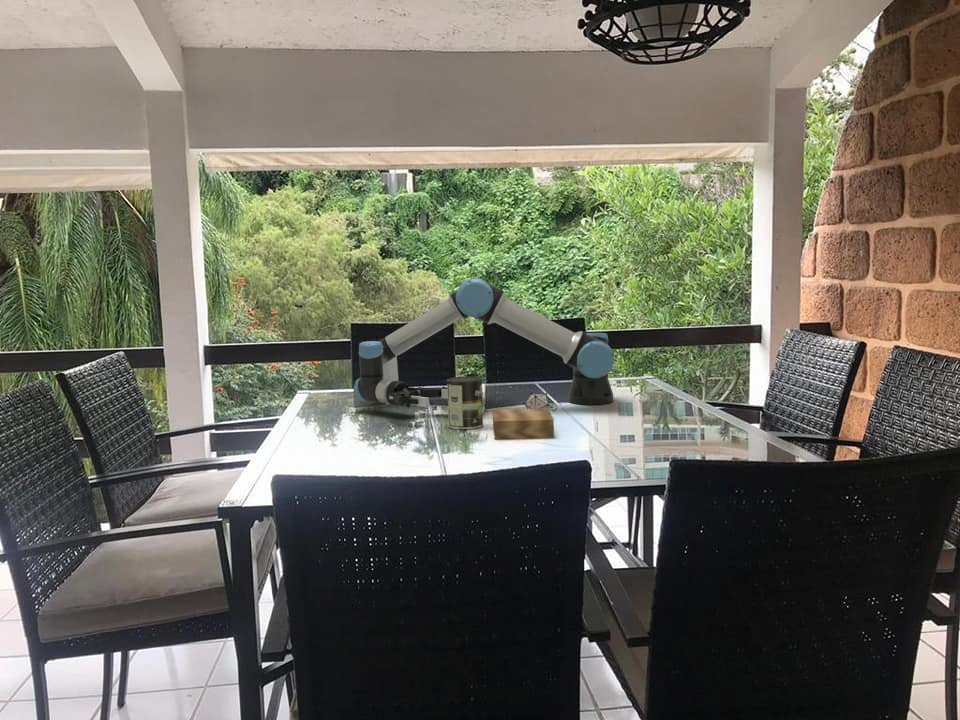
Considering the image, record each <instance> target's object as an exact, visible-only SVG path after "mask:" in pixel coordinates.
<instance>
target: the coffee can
mask: <svg viewBox="0 0 960 720" xmlns="http://www.w3.org/2000/svg"><path fill="white" fill-rule="evenodd" d="M482 381H483V378H482V377H478V376H470V375H469V376H467V375H466V376H456V377H455V376H454V377H450V378H447V379H446V382H447V385H446V386H447V390H448V399H447V407H448V408H447V410H448V411H447V412H448V413H447V414H448V428H449V427H450V428H449V429H451V428H452V429H453V430H458V429H462V431H463V429H470V430H477V429H480V427H481V428H482V427H484V419H483V418H484V417H483V416H484V414H483V413H484V412H483V386H482V385H483V383H482Z"/></svg>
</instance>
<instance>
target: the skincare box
mask: <svg viewBox="0 0 960 720" xmlns="http://www.w3.org/2000/svg"><path fill="white" fill-rule="evenodd" d="M383 379H384V380H394V381H399V369H398V357H397V356H396V357H395V358H393V359H392V360H390V361H388V362H387V363H385V364H383Z"/></svg>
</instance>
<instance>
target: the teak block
mask: <svg viewBox="0 0 960 720" xmlns="http://www.w3.org/2000/svg"><path fill="white" fill-rule="evenodd" d="M554 422H555V421H554V418H553V416H552V414H551V412H550V410H548V408H545V409H527V408H519V409H518V408H516V409H513V408H512V409H493V410H492V427H493V435H494V436H495V437H494V436H493V437H494V440H520V439H521V440H522V439H524V440H527V439H554V436H555V431H554V430H555V429H554V428H555V426H554V425H555V424H554Z"/></svg>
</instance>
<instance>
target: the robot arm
mask: <svg viewBox="0 0 960 720" xmlns="http://www.w3.org/2000/svg"><path fill="white" fill-rule="evenodd" d="M469 317H471V318H475V319H476V320H479V321H481V322H483V323H484V324H487V325H491V324H494V323H495V324H496V325H499V326H501V327H503V328H505V329H507V330H509V331H511V332H513V333H514V334H517V335H518V336H520V337H523V338H525V339H527V340H529V341H531V342H532V343H535V344H536V345H538V346H540V347H542V348H543V349H546V350H547V351H550V352H552V353H553V354H555V355H558V356H559V357H561V358H562V359H563V360H562V361H563V362H564V364H565V365H567V366H569V367H571V368H572V372H573V373H572V374H573V375H572V376H573V377H572V382H571V385H570V388H569V390H568V395H567V399H568V402H569V403H571V404H576V405H581V406H582V405H584V406H585V405H587V406H592V405H593V406H597V405H607V404H611V403H613V402H614V393H613V389H612V387H611V384H610V380H609V373H610V372H611V370H612V368H613V366H614V363H615V355H614V351H613V349H612V348H611V347H610V345H609V338H608V337H609V336H608V334H607V333H605V332H584V331H582V330H580V331H576V332H574V331H572V330H570V329H569V328H566V327H564V326H562V325H560V324H559V323H557V322H555V321H553V320H551V319H549V318H546V317H544V316H542V315H540V314H538V313H537V312H534V311H533V310H531V309H530V308H527V307H525V306H523V305H521V304H519V303H518V302H515V301H514V300H511V299H509V298H508V296H507V294H506V292H505V291H504V290H502V289H501V288H498V287H497V286H494V285H492V284H490V282H488V280H485V279H484V278H482V277H481V278H480V277H473V278H468V279H466V280H464V281H463V282H462V283H460V284H459V287H458V288H457V290H455V291H454V292H452V293H450V294H449V296H448V299H446V300H445V301H443V302H441V303H440V304H437V306H435V307H433V308H431V309H429V310H428V311H426V312H425V313H424V314H423V313H422V314H421V315H420V316H418V317H416V318H415V319H413V320H411V321H410V322H408V323H406V324H405V325H403V326H401V327H400V328H397V330H395V331H393V332H392V333H390V334H388V335H386V336H385V337H383V338H382V339H380V340H377V341H376V340H370V341H369V340H367V341H362V342H359V345H358V356H359V359H358V360H359V378H357V379H356V380H355V381H354V385H353V393H354V395H355V397H356V398H357V399H359V400H362V401H366V402H374V403H382V404H385V405H386V406H389V405H395V406H401V407H404V406H405V408H410V407H411V406H415V407H421V408H422V407H423V408H424V407H425V408H429V406H430V405H429V398H441V399H445V400H446V399H447V400H448V387H445V386H442V387H421V386H418V387H413V386H411V387H409V385H408V384H407V382H404V381H400V380H398V381H394V380H384V379H383V364H385V363H387V362H388V361H390V360H392V359H393V358H395V357H396V356H399V355H401V354H403V353H405V352H407V351H408V350H410V349H411V348H413V347H414V346H416V345H418V344H419V343H421V342H423V341H425V340H427V339H428V338H430V337H431V336H433V335H435V334H437V333H438V332H440V331H442V330H443V329H445V328H447V327H449V326H450V325H452V324H454V323H455V322H457V321H458V320H466V319H468V318H469Z"/></svg>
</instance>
